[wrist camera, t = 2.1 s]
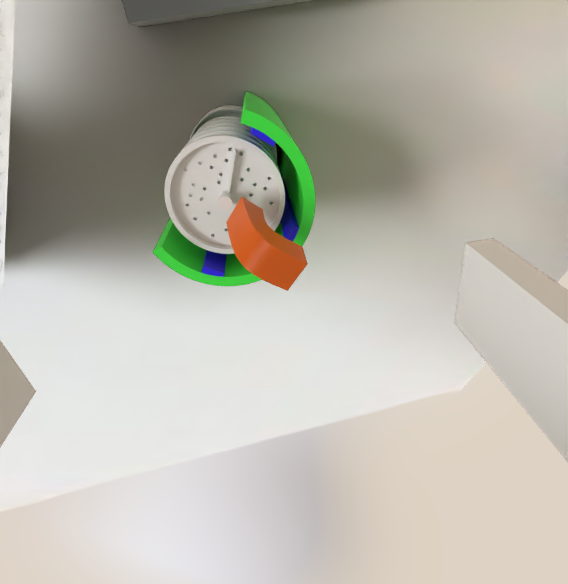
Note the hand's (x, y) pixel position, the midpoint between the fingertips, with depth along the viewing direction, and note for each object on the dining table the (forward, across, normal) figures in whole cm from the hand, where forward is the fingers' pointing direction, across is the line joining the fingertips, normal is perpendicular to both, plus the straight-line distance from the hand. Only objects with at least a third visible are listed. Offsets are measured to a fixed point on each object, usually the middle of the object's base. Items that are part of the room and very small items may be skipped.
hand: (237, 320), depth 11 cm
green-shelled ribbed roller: (+24, 0, 0) cm, 24 cm away
